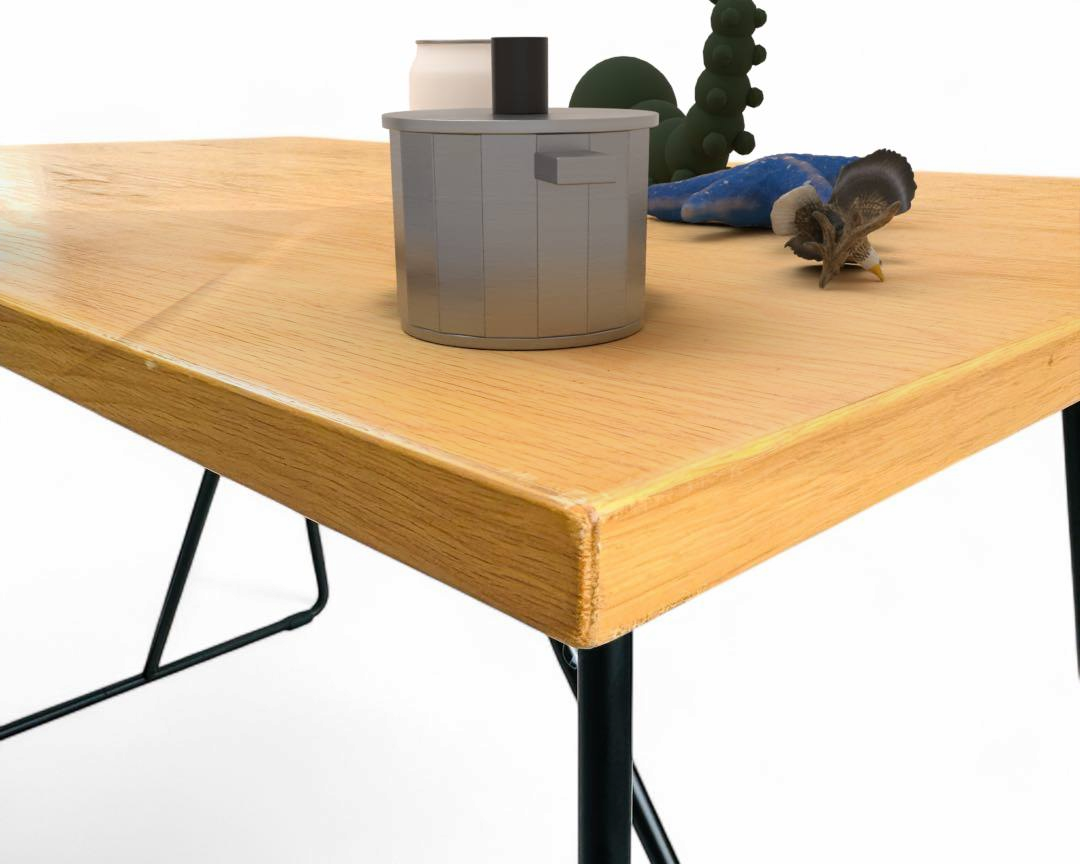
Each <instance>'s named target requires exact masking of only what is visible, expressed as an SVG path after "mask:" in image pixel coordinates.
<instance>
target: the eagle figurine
mask: <svg viewBox="0 0 1080 864" xmlns="http://www.w3.org/2000/svg"><path fill="white" fill-rule="evenodd" d="M861 157H862V156H861ZM911 167H912V165H911V163H910V162H908V158H907V157H906V156H904V155H902V154H901V153H898V152H897V151H896V150H892V149H887V148H886V147H884V148H877V150H874V151H873V152H872V153H869V154H866V155H865V156H863V157H862V158H858V159H856V160H855V161H854V162H852V163H849V164H847V165H844V166H842V168H841V170H840V173H839V175H838V179H837V181H836V184H835V187H834V189H833V191H832V193H831V198H830V199H829V202H828V203H827V204H826V205H824V204H822V203H821V200H820V198H819V196H818V194H817V192H816V189H815V188H814V187H813V186H812V185H805V186H800V187H798V188H796V189H793V190H792V191H790V192H788V193H786V194H784V195H782V196H781V197H780V198H779V199H778V200H777V201H776V202H775V203H774V205H773V210H772V212H771V215H770V217H771V221H772V227H771V229H772V231H773V233H774V234H775V235H776V236H778V237H787V236H792V235H793V237H791V238H790V239H789V240H787V241H786V242H785V244H784V246H783V248H790V251H793V255H794V256H796V257H797V258H801V259H803V260H806V261H816V262H817V263H820V262H822V270H821V274H820V277H819V281H818V287H819V289H821V290H823V289H824V288H826V286H827V285H828V284H829V283H830V282H831V281H832V280H833V278H834V277H835V276H837V275H839V273H840V269H841V268H844V266H845V264H851V265H858V264H859V265H860V266H861V267H862V268H863V269H864V270H865V271H867V272H868V273H872V274H873V275H875V276H876V277H877V278H878V279H879V280H880V281H885V278H886V277H885V275H884V273H883V270H882V267H883V261H882V259H881V258H880V256H879V255H878V253H877V252H876V250H875V249H874V247H873V245H871V243H870V240H869V238H868V235H870V234H871V233H873V232H875V231H877V230H880V229H881V228H883V227H884V226H886V225H887V224H889V223H890V222H892V220H893V218H894V217H897V216H900V215H903V214H905V213H907V212H908V211H909V210H911V208H912V201H913V200H914V199H915V196H916V190H917V189H918V185H917V182H916V181H915V172H914V171H913V169H912V170H911Z"/></svg>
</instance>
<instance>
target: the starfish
mask: <svg viewBox="0 0 1080 864" xmlns="http://www.w3.org/2000/svg"><path fill="white" fill-rule="evenodd" d="M858 158H862V156H856V155H853V156H843V155H827V154H812V153H805V152H804V153H795V152H785V153H775V154H770V155H764V156H763V157H759V158H756V159H754V160H752V161H749V162H747V163H743V164H737V165H735V166H733V167H731V168H730V169H728V170H720V171H717V172H714V173H710V174H704V175H700V176H697V177H694V178H690V179H687V180H682V181H679V182H671V183H660V184H654V185H651V186H649V187H648V202H647V216H650V217H652V218H653V217H654V218H656V219H658V220H663V221H671V222H686V223H693V224H695V223H711V222H715V223H723V224H726V225H729V226H733V227H736V228H739V227H758V228H772V221H771V217H770V215H771V212H772V210H773V205H774V203H775V202H776V201H777V200H778V199H779V198H780V197H781V196H782V195H784V194H786V193H788V192H790V191H792V190H793V189H796V188H798V187H800V186H805V185H812V186H813V187H814V188H815V189H816V192H817V194H818V196H819V198H820V200H821V203H822V204H824V205H826V204H827V203H828V202H829V199H830V198H831V193H832V191H833V189H834V187H835V184H836V181H837V179H838V175H839V173H840V170H841V168H842V166H844V165H847V164H849V163H852V162H854V161H855V160H856V159H858ZM911 170H912V171H913V168H912V166H911Z"/></svg>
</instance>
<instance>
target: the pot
mask: <svg viewBox="0 0 1080 864" xmlns="http://www.w3.org/2000/svg"><path fill="white" fill-rule="evenodd" d="M388 134H389V153H390V154H389V155H390V172H391V173H390V174H391V176H390V177H391V194H392V195H391V196H392V197H391V198H392V214H393V215H392V216H393V217H392V218H393V234H394V235H393V236H394V237H393V238H394V256H395V277H396V296H397V297H396V298H397V315H398V316H399V318H400V326H401V327H400V328H401V329H402V330H403V331H404V332H405V333H406V334H408V335H409V336H412V337H414V338H417V339H420V340H423V341H427V342H429V343H435V344H438V345H439V344H440V345H445V346H452V347H460V348H469V349H480V350H499V351H530V350H531V351H534V350H552V349H553V350H554V349H555V350H556V349H557V350H558V349H568V348H578V347H585V346H593V345H599V344H603V343H604V344H605V343H608V342H613V341H617V340H620V339H624V338H626V337H629V336H631V335H633V334H636V333H638V332H639V331H640V330H641V329H642V328H643V326H644V324H645V313H646V312H645V310H646V309H645V308H646V307H645V304H646V273H647V271H646V270H647V237H648V236H647V235H648V234H647V233H648V215H647V202H648V166H649V128H646V129H637V130H625V131H609V132H587V133H550V134H463V133H429V132H410V131H398V130H390V129H388Z"/></svg>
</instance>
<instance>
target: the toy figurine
mask: <svg viewBox="0 0 1080 864" xmlns="http://www.w3.org/2000/svg"><path fill="white" fill-rule="evenodd" d="M708 1H709V2H710V3H711V4H712V5H714V6H713V8H712V9H711V14H710V19H709V20H710V28H711V31H712V32H710V34H709V35H708V37H707V38H706V40H705V41H704V44H703V47H702V60H703V66H704V70H702V71H701V73H700V75H699V76H698V77H697V79H696V82H695V85H694V102H695V103H693V105H691V107H690V108H689V109H688V111H687V112H686V114H685V113H684V112H683V111H682V110H681V109H680V108H679V107H678V100H677V97H676V93H675V91H674V88H673V86H672V84H671V83H670V82H669V80H668V78H667V77H666V76H665V74H664V73H662V71H661V70H659V69H658V68H657V67H656V66H654V65H653V64H652V63H650V62H649V61H647V60H645V59H641V58H638V57H636V56H630V55H629V56H628V55H618V56H612V57H609V58H605V59H604V60H601V61H600V62H597V63H595V65H593V66H592V67H590V68H589V69H588V70H586V72H585V73H584V74H583V75H581V77H580V78H579V81H578V82H577V83H576V84H575V87H574V89H573V91H572V93H571V96H570V99H569V101H568V106H567V108H608V109H632V110H645V111H653V112H657V113H659V124H658V126H656V127H652V128H649V166H648V187H649V186H651V185H654V184H660V183H671V182H679V181H682V180H687V179H690V178H694V177H697V176H700V175H704V174H710V173H714V172H717V171H720V170H728V169H730V168H732V166H728V163H729V158H730V155H731V154H732V153H733V152H735V153H737V154H738V155H740V156H748V155H750V154H751V153H752V152H754V150H755V148H756V146H757V143H756V138H755V135H754V133H751V132H750V131H747V130H745V128H746V124H745V116H744V113H743V112H745V110H746V109H747V107H748V108H752V109H755V108H758V107H760V106H761V105H762V103H763V102H764V101H765V99H764V97H765V96H764V92H763V90H762V89H760V88H758V87H756V86H753V87H752V85H751V80H750V78H749V76H748V73H749V72H750V71H751V70H752V68H753V66H755V67H757V66H759V65H761V64H762V63H764V62H765V61H766V60H767V56H768V52H767V49H766V47H765V46H763V45H762V44H760V43H759V44H756V41H755V40H754V39H755V38H753V35H754V33H755V31H756V30H757V29H760V28H762V27H763V26H765V24H766V23H767V21H768V14H767V12H766V10H765V9H762V8H761V7H757V5H756V4H755V1H753V0H708Z"/></svg>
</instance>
